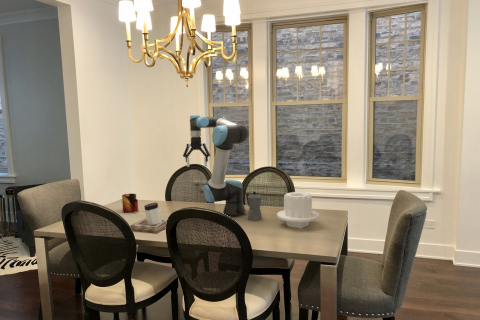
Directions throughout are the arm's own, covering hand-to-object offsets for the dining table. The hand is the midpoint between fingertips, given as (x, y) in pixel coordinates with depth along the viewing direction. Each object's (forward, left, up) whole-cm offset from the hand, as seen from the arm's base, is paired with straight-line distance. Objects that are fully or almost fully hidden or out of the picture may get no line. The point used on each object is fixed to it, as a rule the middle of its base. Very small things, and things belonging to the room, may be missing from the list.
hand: (196, 166), depth 272 cm
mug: (+43, +19, -31) cm, 56 cm away
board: (+9, +49, -31) cm, 58 cm away
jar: (+6, +48, -29) cm, 56 cm away
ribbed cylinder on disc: (-77, +23, -31) cm, 86 cm away
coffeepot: (-47, +16, -31) cm, 58 cm away
